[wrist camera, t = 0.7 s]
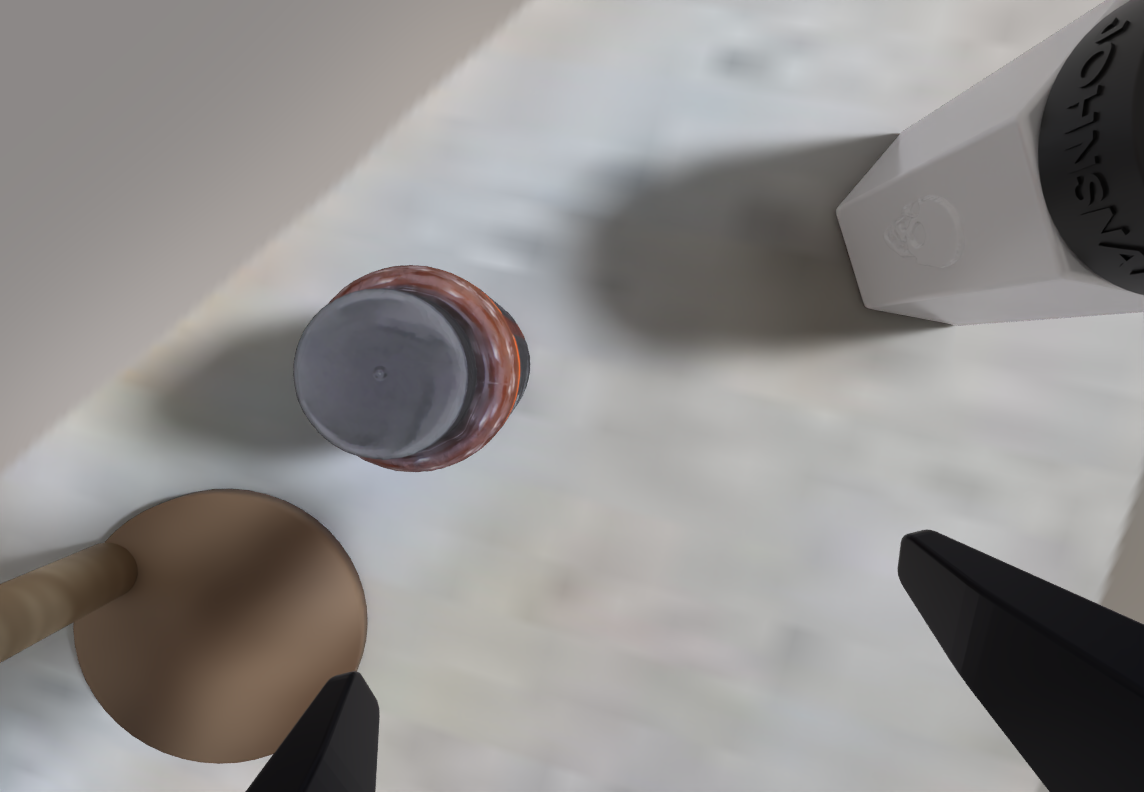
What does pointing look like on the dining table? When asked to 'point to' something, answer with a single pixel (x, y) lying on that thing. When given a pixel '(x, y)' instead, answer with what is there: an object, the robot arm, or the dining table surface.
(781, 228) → the dining table surface
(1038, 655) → the robot arm
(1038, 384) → the dining table surface
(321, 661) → the flange plate
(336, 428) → the supplement bottle
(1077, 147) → the jar
